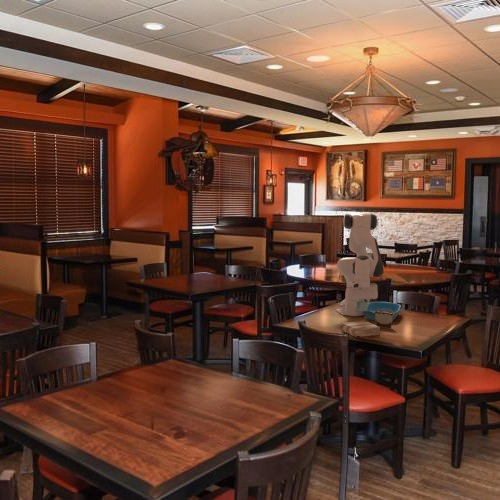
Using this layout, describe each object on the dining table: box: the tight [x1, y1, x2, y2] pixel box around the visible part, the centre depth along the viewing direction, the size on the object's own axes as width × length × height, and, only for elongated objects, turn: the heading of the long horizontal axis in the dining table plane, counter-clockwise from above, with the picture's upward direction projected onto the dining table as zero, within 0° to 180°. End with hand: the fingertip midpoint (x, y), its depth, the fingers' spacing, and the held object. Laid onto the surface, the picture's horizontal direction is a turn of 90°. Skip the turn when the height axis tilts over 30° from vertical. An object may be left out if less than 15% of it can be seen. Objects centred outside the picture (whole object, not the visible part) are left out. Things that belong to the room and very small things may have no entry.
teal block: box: [356, 300, 368, 311], centre depth 326 cm, size 5×5×5 cm
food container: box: [374, 310, 394, 329], centre depth 342 cm, size 12×6×10 cm, turn 59°
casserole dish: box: [364, 301, 402, 322], centre depth 370 cm, size 37×22×7 cm, turn 158°
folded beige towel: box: [341, 320, 381, 338], centre depth 328 cm, size 16×16×5 cm
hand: (361, 306), depth 326 cm, fingers closed on teal block, 5 cm apart
